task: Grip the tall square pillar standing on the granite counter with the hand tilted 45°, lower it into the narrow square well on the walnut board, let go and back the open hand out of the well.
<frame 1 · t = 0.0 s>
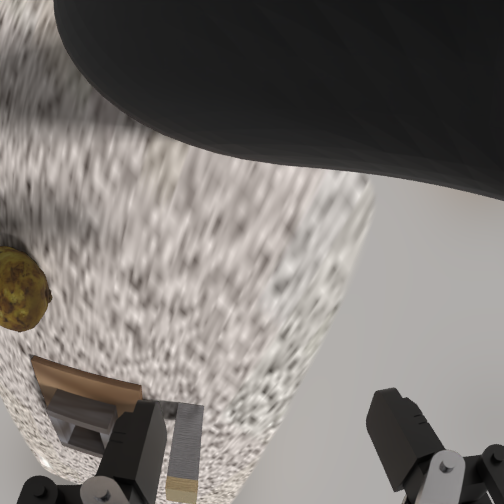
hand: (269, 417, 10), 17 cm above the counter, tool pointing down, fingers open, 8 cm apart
tall square pillar: (190, 412, 33), on the counter
well board: (93, 411, 33), on the counter
potato: (22, 268, 26), on the counter
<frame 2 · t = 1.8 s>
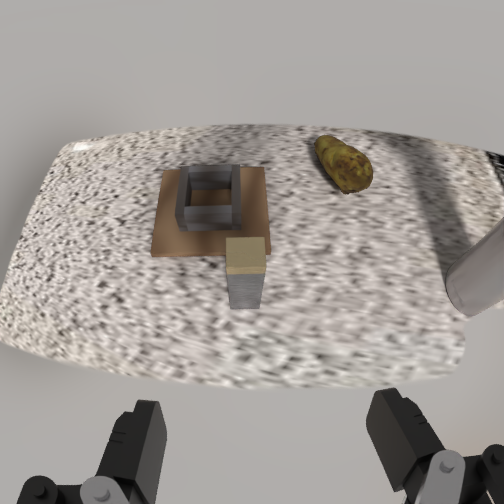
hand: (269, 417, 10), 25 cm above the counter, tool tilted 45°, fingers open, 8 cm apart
tall square pillar: (244, 297, 38), on the counter
well board: (211, 209, 44), on the counter
potato: (336, 177, 49), on the counter
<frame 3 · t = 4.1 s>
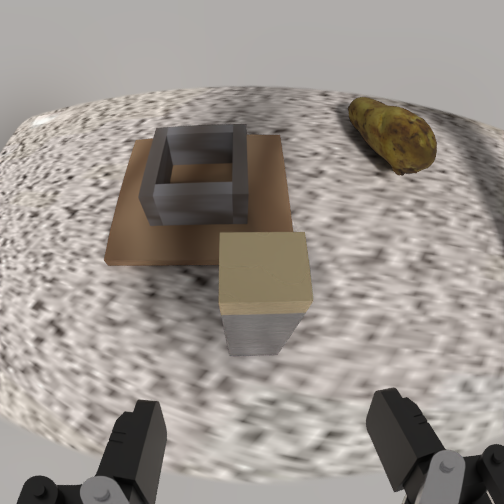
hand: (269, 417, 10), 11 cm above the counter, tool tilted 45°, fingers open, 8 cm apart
tall square pillar: (252, 336, 22), on the counter
well board: (201, 193, 29), on the counter
potato: (379, 155, 33), on the counter
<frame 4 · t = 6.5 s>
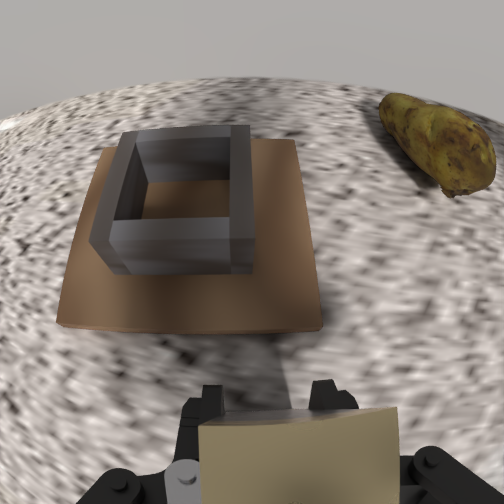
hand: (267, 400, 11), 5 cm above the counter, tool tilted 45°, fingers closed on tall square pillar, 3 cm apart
tall square pillar: (261, 436, 14), on the counter, touching gripper
well board: (187, 224, 20), on the counter
potato: (417, 167, 25), on the counter
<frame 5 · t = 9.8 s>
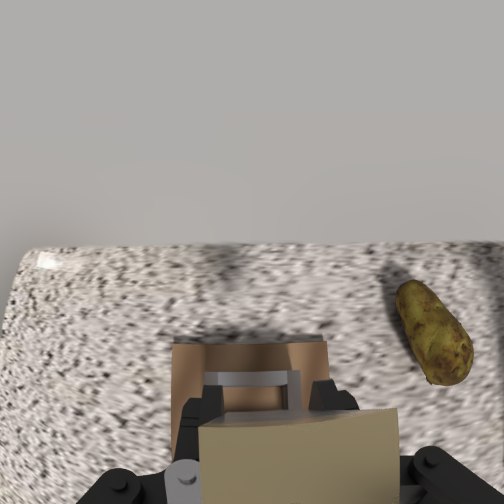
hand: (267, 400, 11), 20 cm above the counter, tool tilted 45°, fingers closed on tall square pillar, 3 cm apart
tall square pillar: (261, 436, 14), point 15 cm above the counter, touching gripper
well board: (251, 416, 28), on the counter
potato: (416, 339, 32), on the counter
when the fingers open (7 cm above the counter, at t = 13.2 s): tall square pillar drops 1 cm, resting on well board.
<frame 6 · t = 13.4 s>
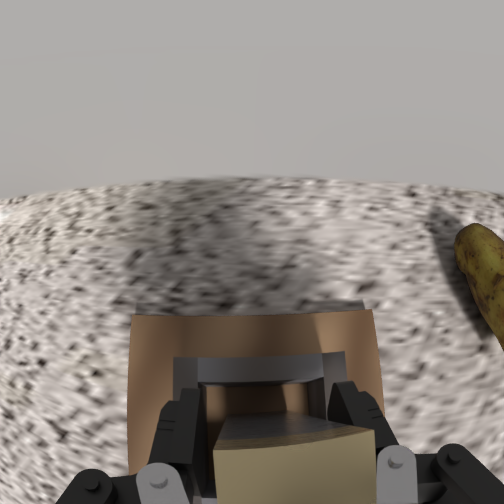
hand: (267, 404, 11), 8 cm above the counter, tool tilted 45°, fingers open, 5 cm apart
tall square pillar: (259, 436, 15), point 1 cm above the counter, touching well board
well board: (258, 432, 16), on the counter
potato: (481, 308, 21), on the counter
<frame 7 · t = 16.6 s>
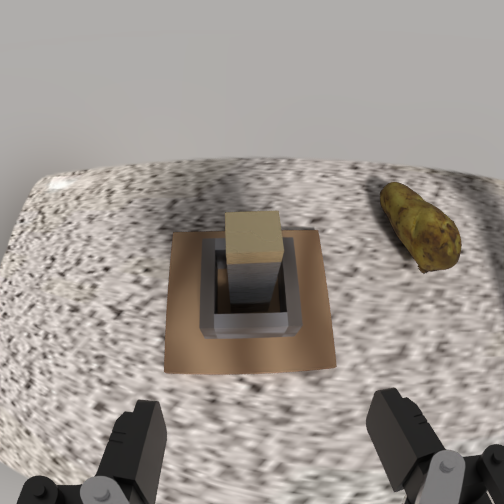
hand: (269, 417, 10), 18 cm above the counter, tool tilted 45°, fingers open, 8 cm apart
tall square pillar: (248, 297, 30), point 1 cm above the counter, touching well board
well board: (248, 299, 31), on the counter
potato: (405, 240, 35), on the counter
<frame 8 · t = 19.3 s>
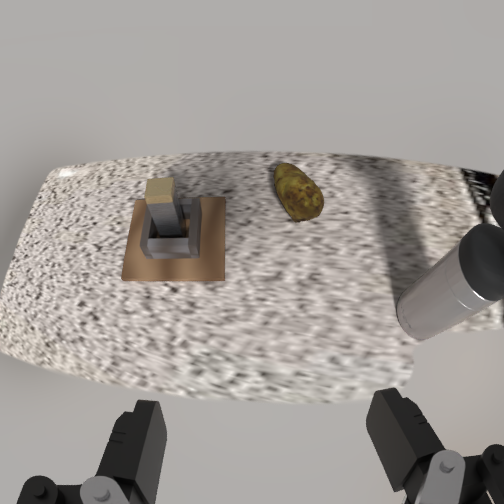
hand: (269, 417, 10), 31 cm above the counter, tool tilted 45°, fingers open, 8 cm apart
tall square pillar: (174, 235, 48), point 1 cm above the counter, touching well board
well board: (175, 238, 49), on the counter
potato: (294, 204, 53), on the counter
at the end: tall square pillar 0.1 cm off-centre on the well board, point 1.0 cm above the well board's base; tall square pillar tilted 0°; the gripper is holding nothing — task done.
